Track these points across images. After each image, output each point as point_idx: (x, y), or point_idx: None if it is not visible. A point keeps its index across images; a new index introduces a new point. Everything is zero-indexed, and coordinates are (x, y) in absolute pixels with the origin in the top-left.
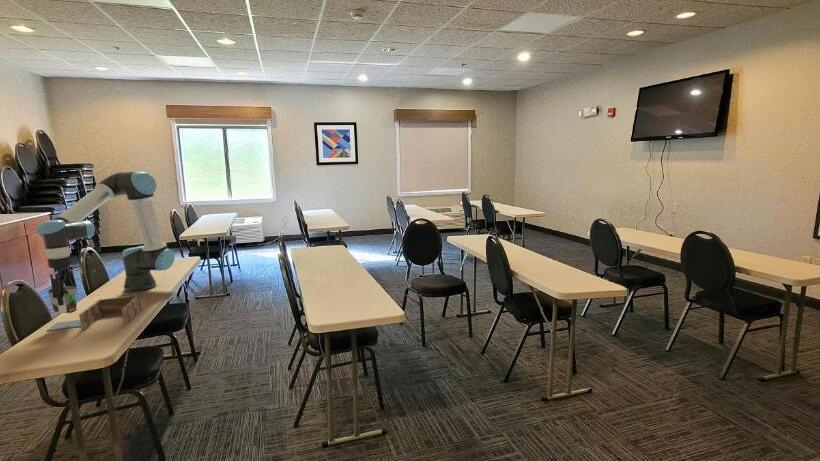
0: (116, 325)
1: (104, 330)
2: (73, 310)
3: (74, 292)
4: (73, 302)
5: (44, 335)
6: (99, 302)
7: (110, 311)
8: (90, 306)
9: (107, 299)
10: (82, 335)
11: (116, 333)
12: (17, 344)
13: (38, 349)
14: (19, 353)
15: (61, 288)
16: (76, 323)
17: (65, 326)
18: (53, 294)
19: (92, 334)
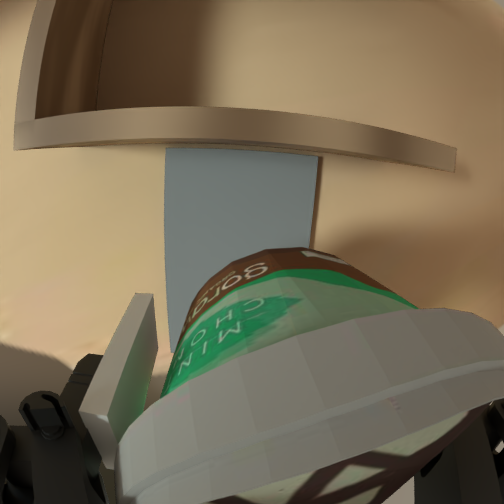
0: (378, 3)
1: (429, 54)
2: (331, 256)
3: (465, 323)
4: (362, 281)
5: None
6: (68, 116)
7: (92, 76)
8: (242, 128)
9: (42, 60)
10: (452, 144)
11: (471, 20)
12: None
13: (492, 273)
14: (485, 318)
15: (494, 497)
16: (242, 234)
17: None
18: (498, 459)
19: (457, 102)
